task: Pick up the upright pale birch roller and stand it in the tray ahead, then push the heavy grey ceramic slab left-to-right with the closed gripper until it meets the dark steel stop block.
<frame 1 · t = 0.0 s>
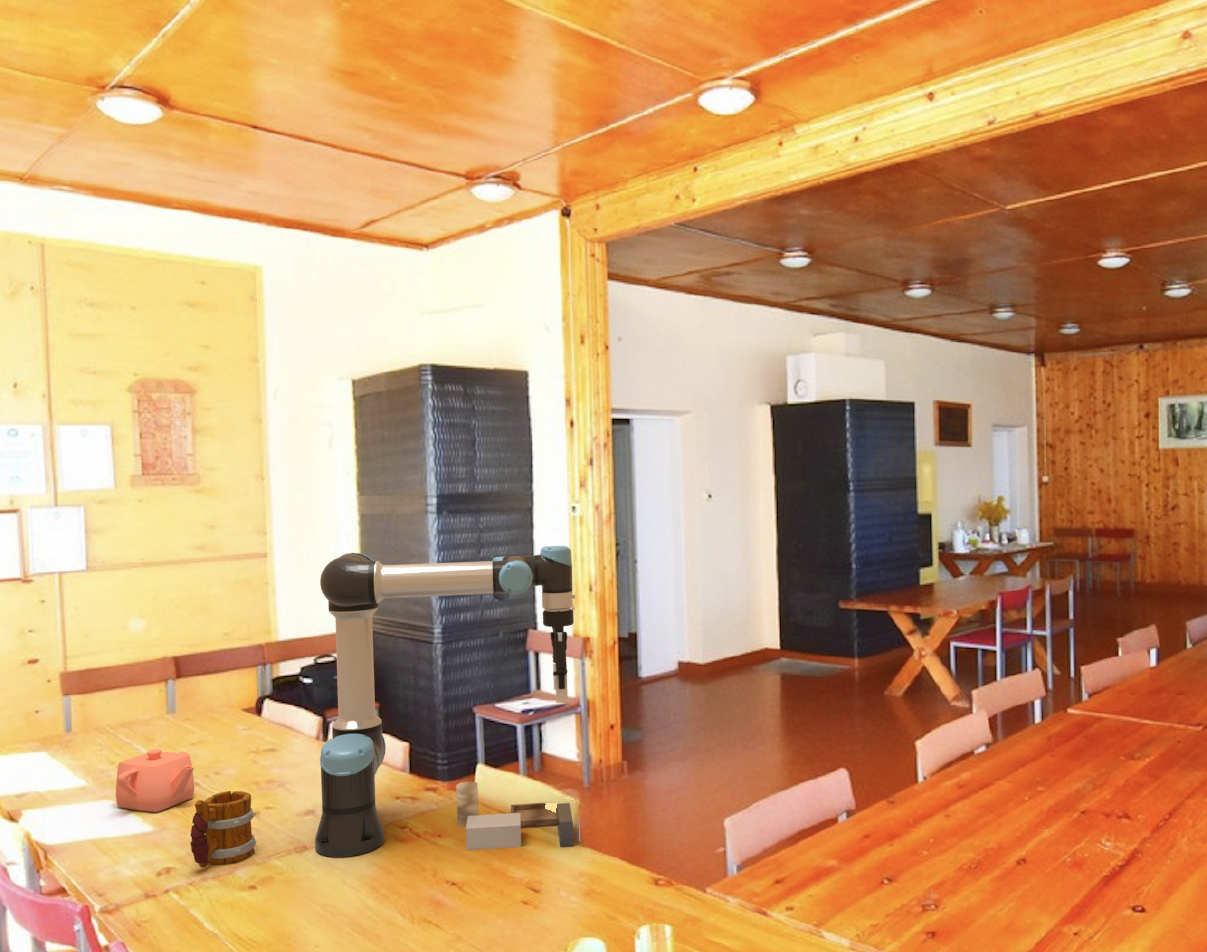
hand: (560, 695, 230), 28 cm above the table, fingers open, 13 cm apart
stop block: (565, 836, 213), on the table
teapot: (162, 805, 244), on the table
tray: (535, 818, 225), on the table
mug: (221, 861, 205), on the table
roller: (468, 822, 223), on the table
slab: (494, 842, 211), on the table
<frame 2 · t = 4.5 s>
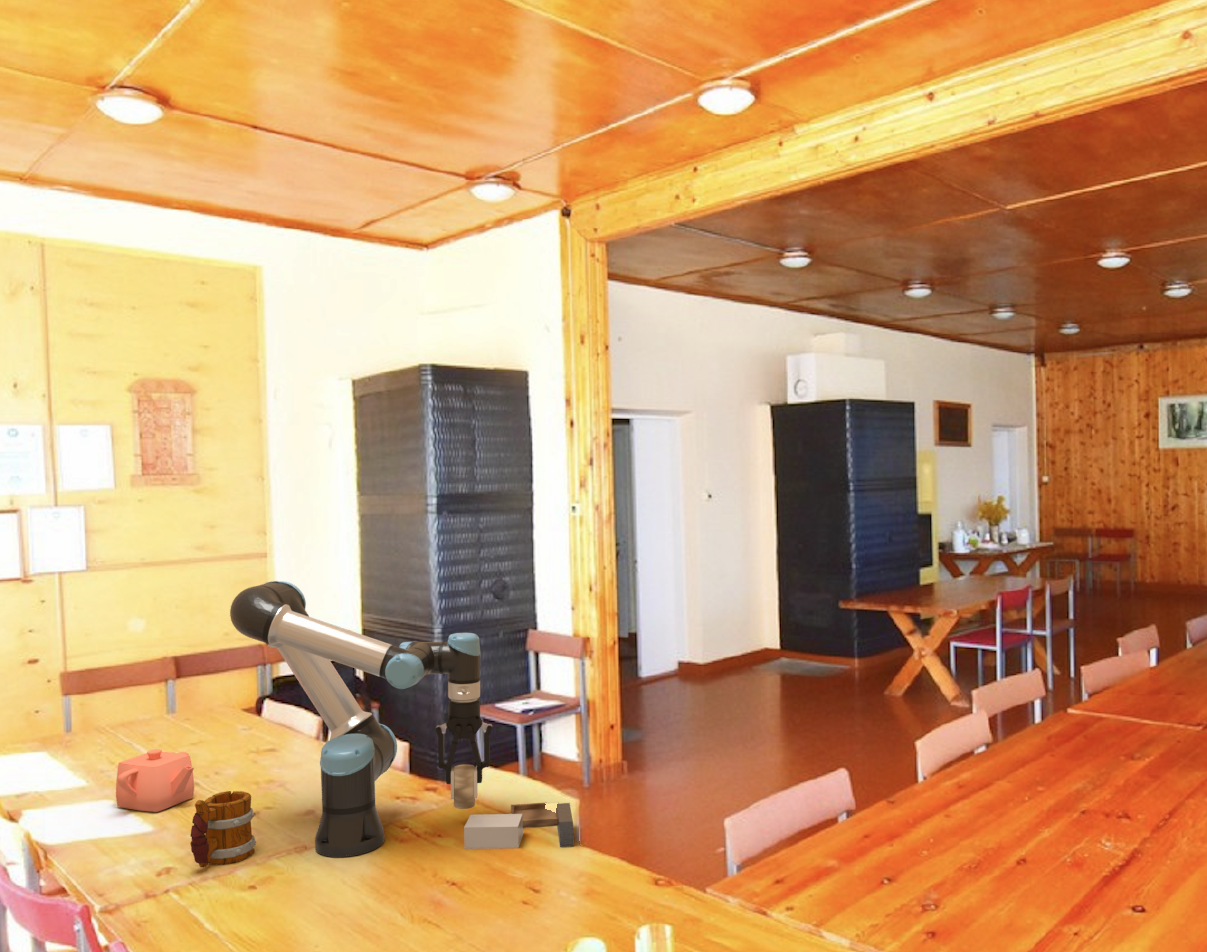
hand: (464, 796, 224), 6 cm above the table, fingers closed on roller, 5 cm apart
roller: (464, 805, 224), point 4 cm above the table, touching gripper
everything else where it was.
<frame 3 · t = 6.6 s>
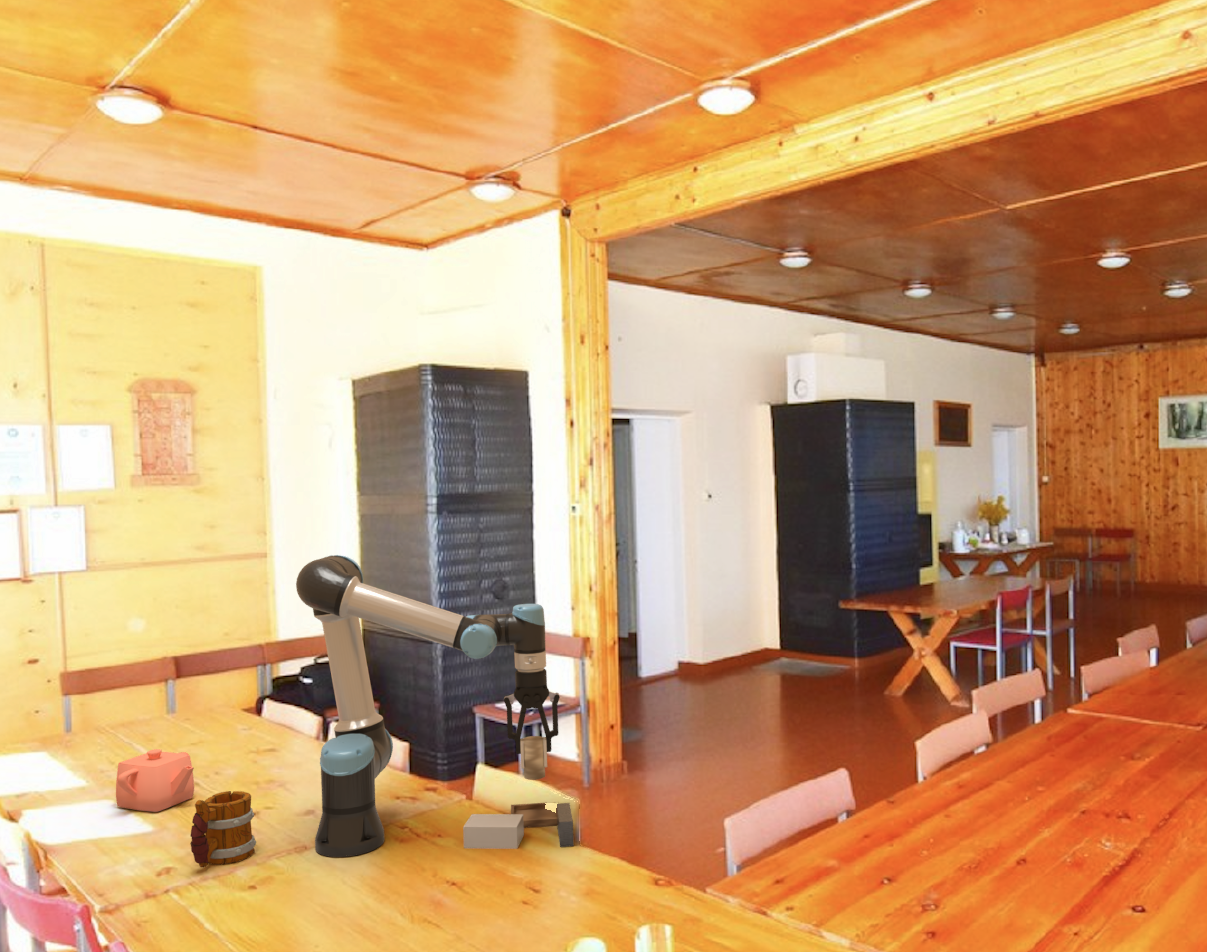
hand: (534, 766, 225), 12 cm above the table, fingers closed on roller, 5 cm apart
roller: (534, 776, 225), point 10 cm above the table, touching gripper
everything else where it was.
when the fingers open (2 cm above the table, at t = 8.6 s): roller stays where it is, resting on tray.
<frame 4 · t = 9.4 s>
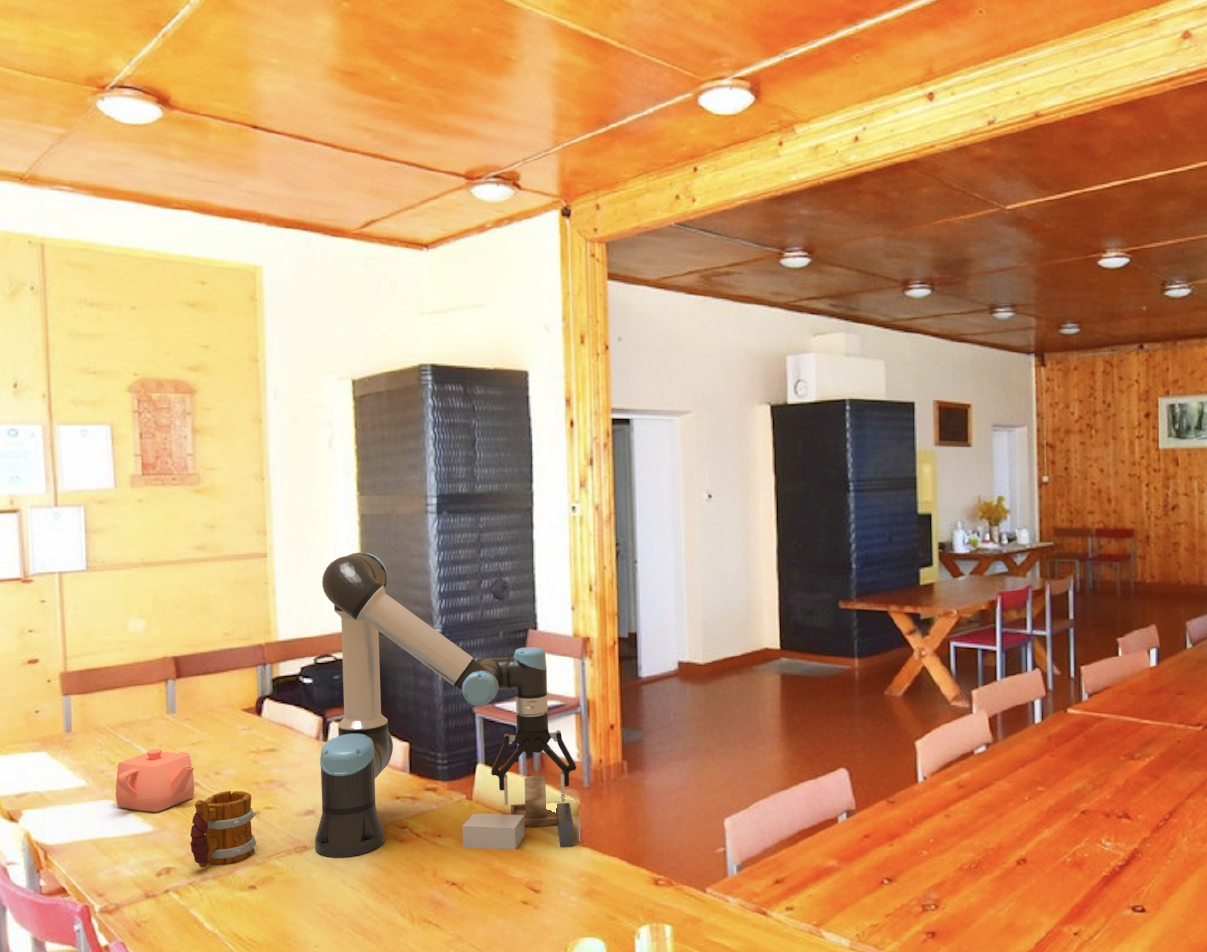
hand: (534, 801, 225), 4 cm above the table, fingers open, 13 cm apart
roller: (536, 816, 225), resting on tray
everything else where it was.
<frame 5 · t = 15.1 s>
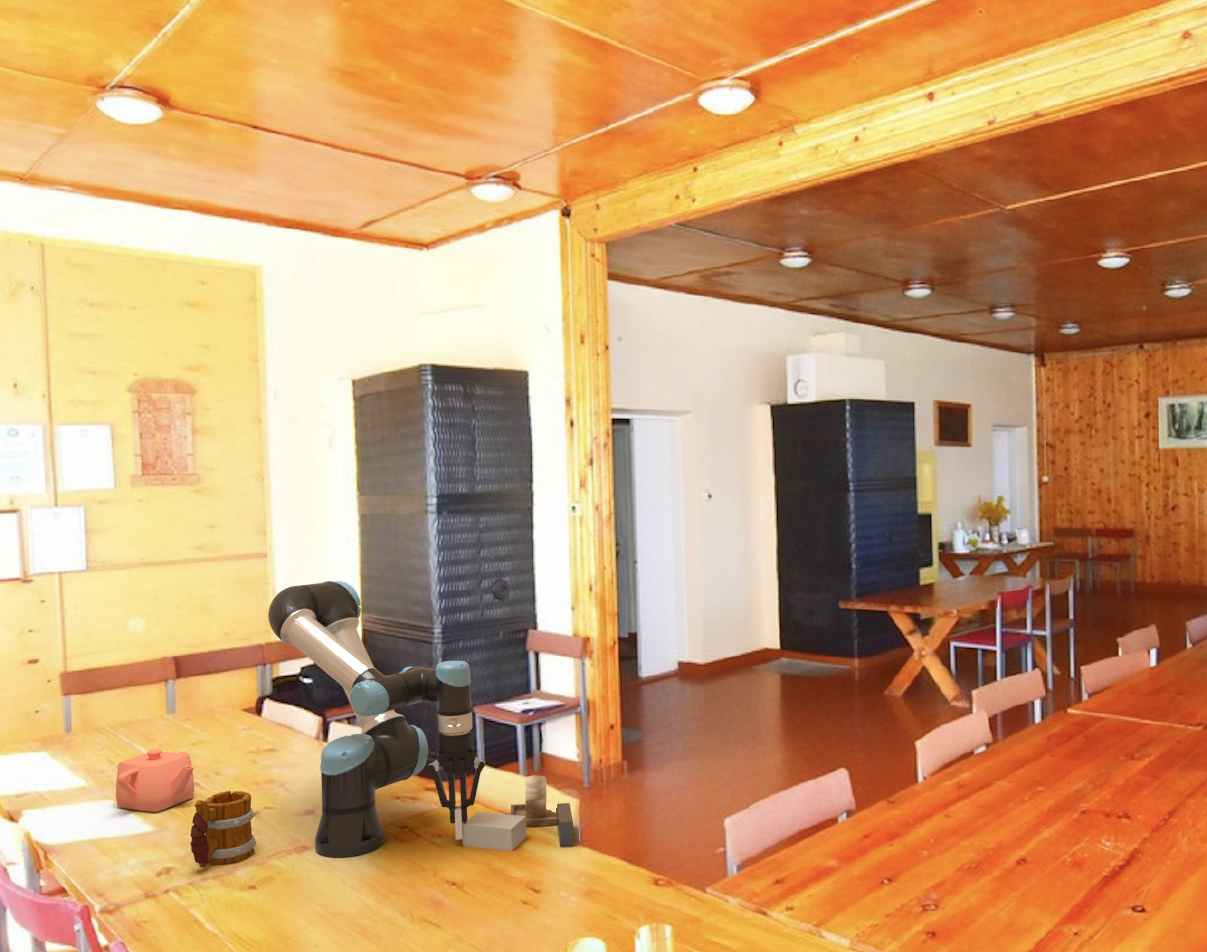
hand: (459, 837, 210), 2 cm above the table, fingers closed
slab: (494, 842, 211), on the table, touching gripper
everything else where it was.
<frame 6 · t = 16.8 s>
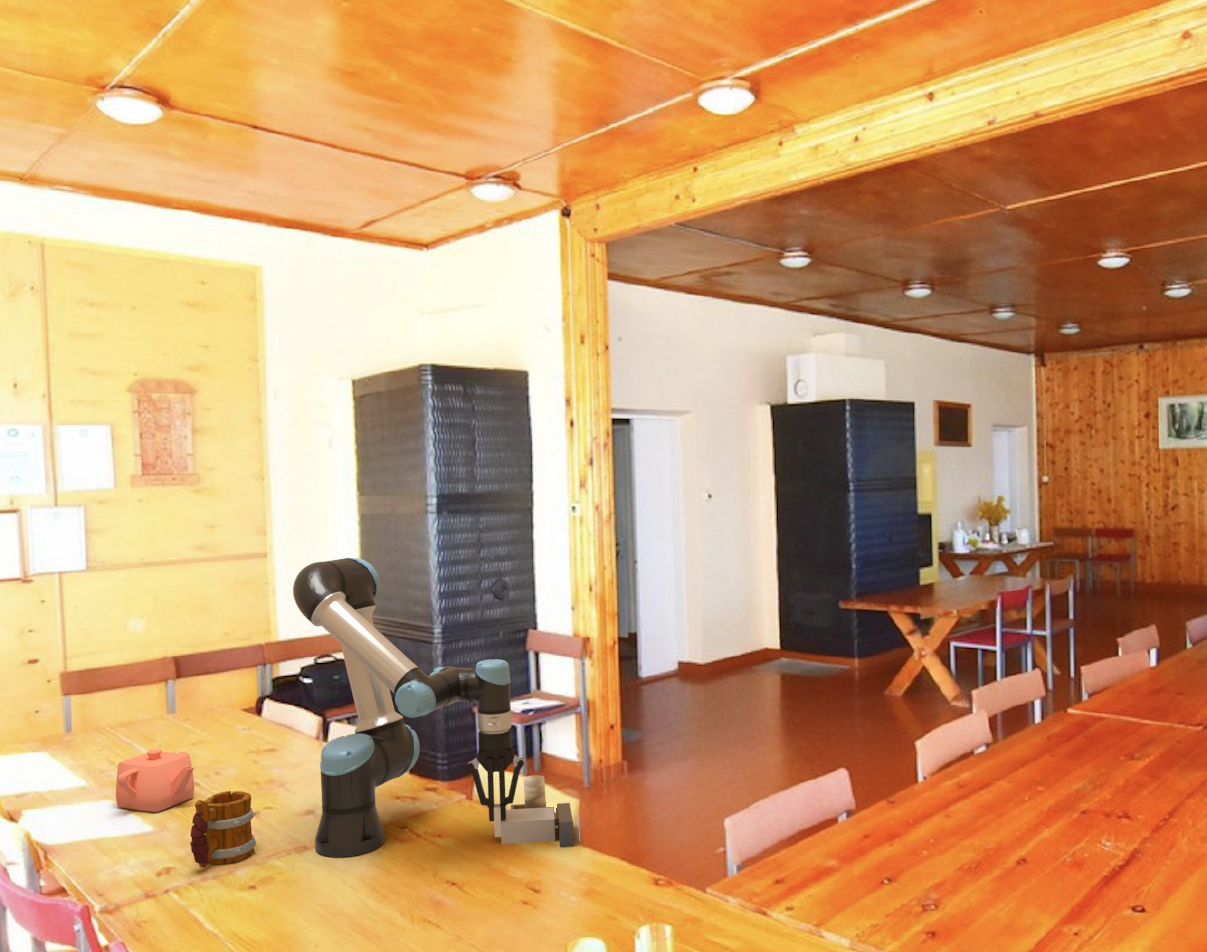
hand: (498, 834, 211), 1 cm above the table, fingers closed
slab: (528, 836, 214), on the table, touching gripper
everything else where it was.
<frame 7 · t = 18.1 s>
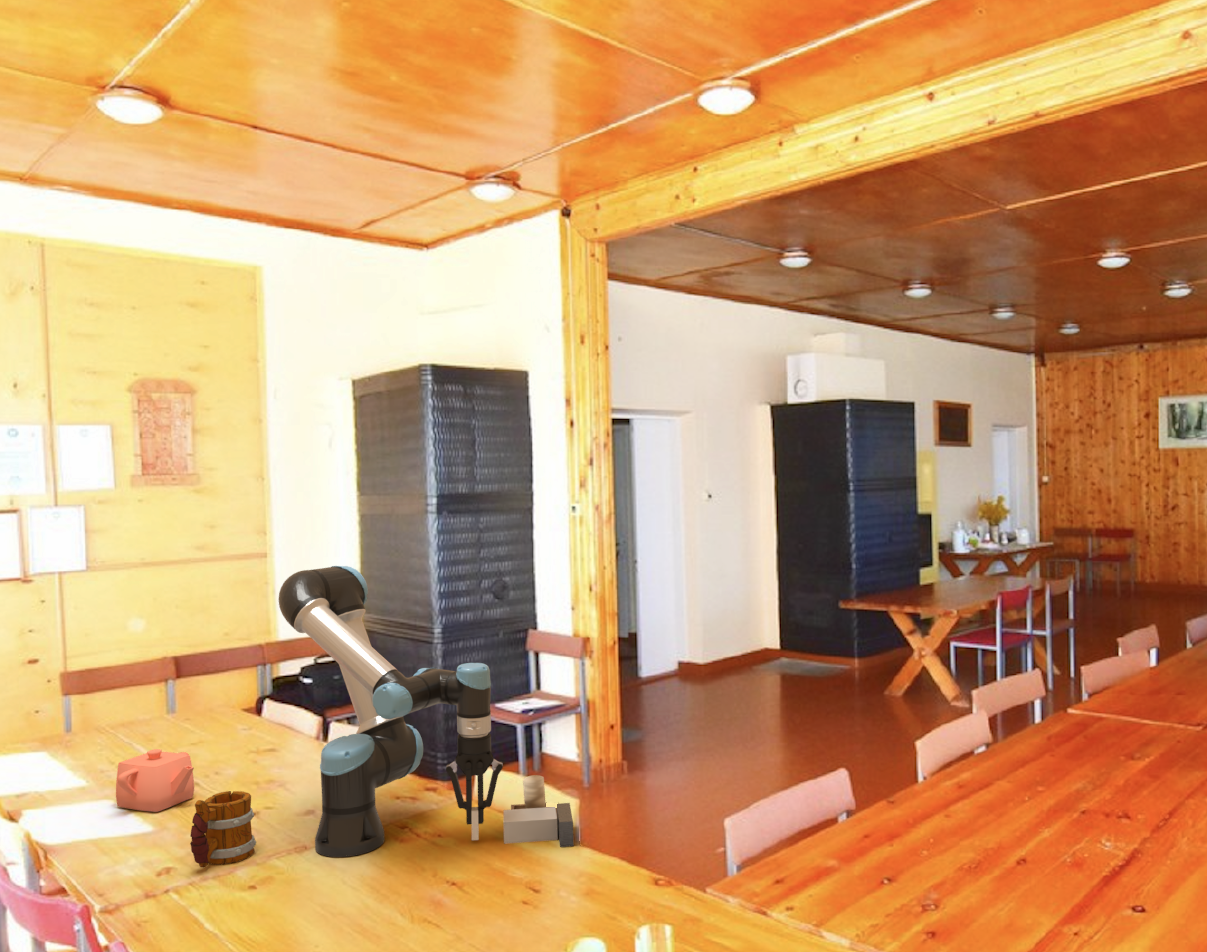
hand: (475, 837, 211), 1 cm above the table, fingers closed
slab: (530, 836, 214), on the table
everything else where it was.
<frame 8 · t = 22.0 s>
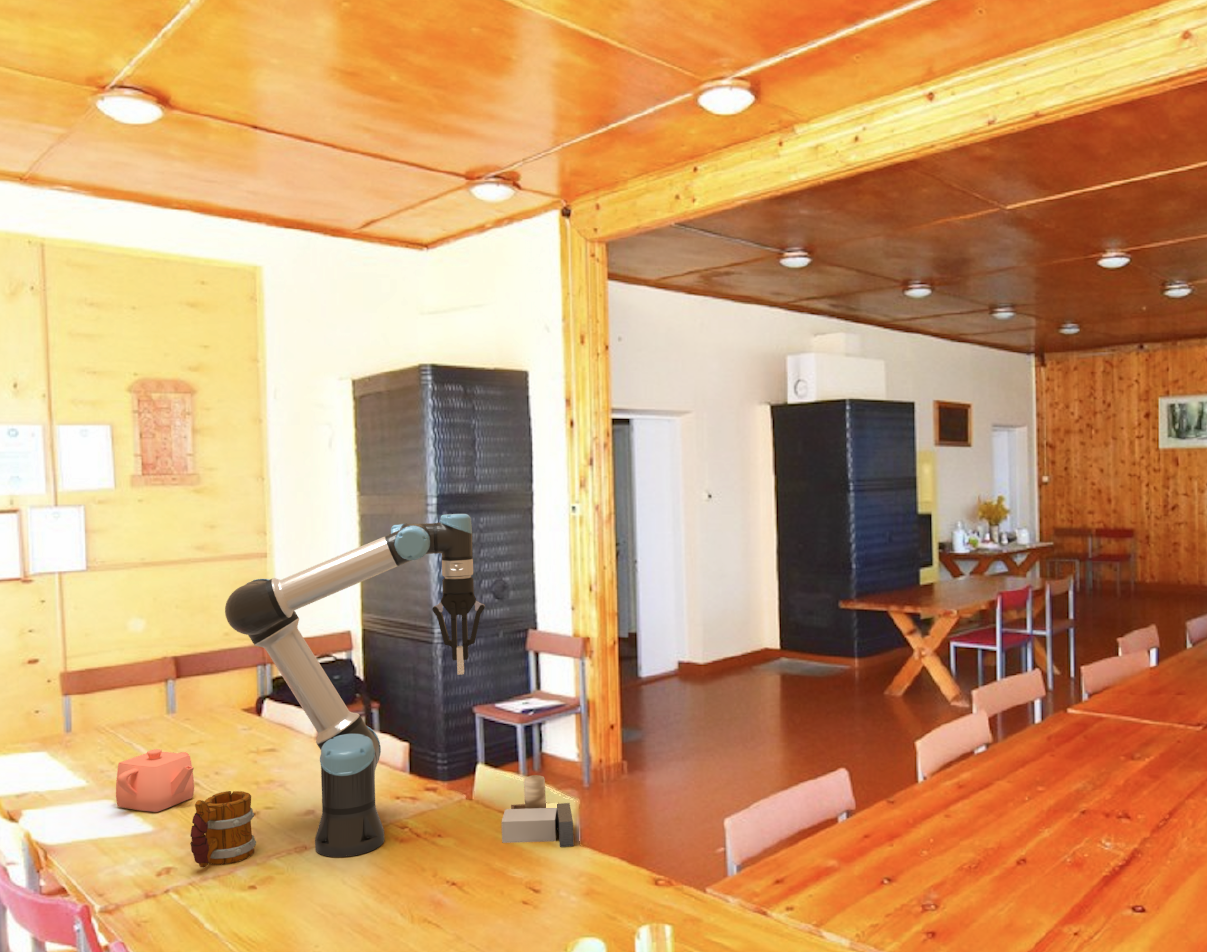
hand: (460, 673, 230), 34 cm above the table, fingers closed
nothing on the table moved.
at the end: slab inside the target area (2.6 cm from its centre), on the table; slab tilted 0°; roller inside the target area on the tray (0.2 cm from its centre), point 0.5 cm above the tray's base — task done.
